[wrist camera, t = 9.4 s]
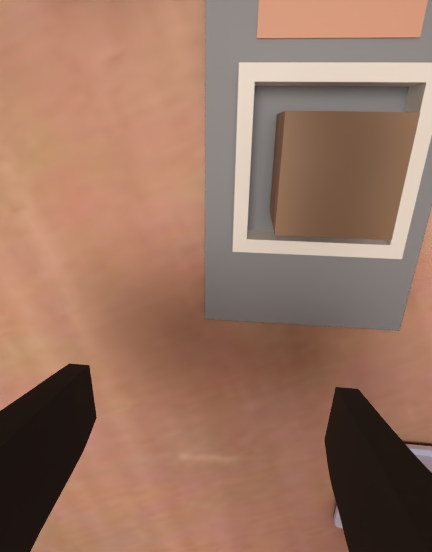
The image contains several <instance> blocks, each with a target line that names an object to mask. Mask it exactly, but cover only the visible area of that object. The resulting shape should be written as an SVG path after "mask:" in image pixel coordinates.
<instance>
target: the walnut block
mask: <svg viewBox="0 0 432 552" xmlns="http://www.w3.org/2000/svg"><path fill="white" fill-rule="evenodd" d="M419 116H420V112H359V111H283V112H281V113H278V114H277V119H276V133H275V146H274V159H273V172H272V185H271V198H270V215H271V220H272V224H273V229H274V234H275V235H279V236H303V237H327V238H351V239H376V240H392V237H393V232H394V228H395V223H396V219H397V214H398V210H399V205H400V201H401V196H402V192H403V188H404V183H405V179H406V174H407V170H408V165H409V161H410V156H411V152H412V148H413V143H414V139H415V134H416V130H417V125H418V121H419Z"/></svg>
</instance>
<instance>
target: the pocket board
mask: <svg viewBox="0 0 432 552" xmlns="http://www.w3.org/2000/svg"><path fill="white" fill-rule="evenodd" d="M283 111H359V112H420V116H419V121H418V125H417V130H416V134H415V139H414V143H413V148H412V152H411V156H410V161H409V165H408V170H407V174H406V179H405V183H404V188H403V192H402V196H401V201H400V205H399V210H398V214H397V219H396V223H395V228H394V232H393V237H392V240H376V239H351V238H327V237H303V236H279V235H275V234H274V229H273V224H272V220H271V215H270V198H271V185H272V172H273V159H274V146H275V133H276V119H277V114H278V113H281V112H283ZM431 207H432V0H205V319H211V320H228V321H245V322H261V323H278V324H295V325H311V326H328V327H345V328H361V329H378V330H395V331H399V330H400V326H401V323H402V319H403V315H404V311H405V307H406V303H407V300H408V296H409V292H410V288H411V284H412V280H413V276H414V273H415V269H416V265H417V261H418V257H419V253H420V250H421V246H422V242H423V238H424V234H425V230H426V227H427V223H428V219H429V215H430V211H431Z"/></svg>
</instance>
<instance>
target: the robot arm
mask: <svg viewBox="0 0 432 552" xmlns="http://www.w3.org/2000/svg"><path fill="white" fill-rule="evenodd" d="M95 420H96V410H95V403H94V396H93V389H92V382H91V374H90V367H89V365H79V364H68V365H67V366H65V367H64V368H62V369H61V370H59V371H58V372H56V373H55V374H53V375H52V376H50V377H49V378H48V379H46V380H45V381H43V382H42V383H40V384H39V385H38V386H36V387H35V388H33V389H32V390H30V391H29V392H27V393H26V394H25V395H23V396H22V397H20V398H19V399H17V400H16V401H14V402H13V403H11V404H10V405H8V406H7V407H6V408H4V409H3V410H1V411H0V552H30V551H31V549H32V547H33V545H34V543H35V541H36V539H37V537H38V535H39V533H40V531H41V529H42V527H43V525H44V524H45V522H46V520H47V518H48V516H49V514H50V513H51V511H52V509H53V507H54V505H55V503H56V501H57V500H58V498H59V496H60V494H61V492H62V490H63V488H64V487H65V485H66V483H67V481H68V479H69V477H70V475H71V474H72V472H73V470H74V468H75V466H76V464H77V462H78V460H79V459H80V457H81V455H82V453H83V451H84V448H85V446H86V443H87V441H88V438H89V436H90V433H91V431H92V428H93V425H94V423H95ZM325 447H326V454H327V462H328V468H329V475H330V480H331V484H332V488H333V492H334V496H335V500H336V503H337V505H336V510H335V514H334V524H335V526H337V527H338V528H343V530H344V534H345V538H346V542H347V545H348V549H349V552H432V446H423V445H412V444H405V443H404V442H403V441H402V440H401V439H400V438H399V437H398V435H397V434H396V433H395V432H394V431H393V430H392V429H391V427H390V426H389V425H388V424H387V423H386V422H385V420H384V419H383V418H382V417H381V416H380V414H379V413H378V412H377V411H376V410H375V409H374V407H373V406H372V405H371V404H370V403H369V401H368V400H367V399H366V398H365V397H364V396H363V394H362V393H361V392H360V391H359V390H358V389H352V388H340V387H336V389H335V393H334V398H333V403H332V407H331V412H330V417H329V422H328V426H327V431H326V436H325Z"/></svg>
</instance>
